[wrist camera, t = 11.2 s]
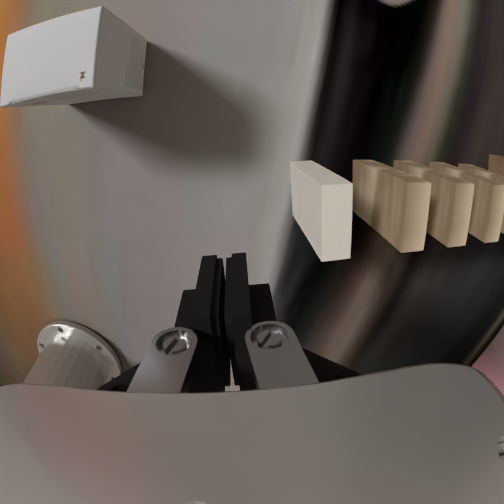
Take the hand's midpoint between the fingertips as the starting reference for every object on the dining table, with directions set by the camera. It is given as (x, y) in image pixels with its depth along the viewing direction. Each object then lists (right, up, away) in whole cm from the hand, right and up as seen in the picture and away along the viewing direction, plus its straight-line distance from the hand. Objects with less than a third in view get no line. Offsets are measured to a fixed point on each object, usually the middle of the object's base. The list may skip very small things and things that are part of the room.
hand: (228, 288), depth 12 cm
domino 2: (+11, +8, +16) cm, 21 cm away
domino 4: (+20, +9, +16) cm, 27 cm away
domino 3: (+16, +8, +16) cm, 24 cm away
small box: (-12, +18, +10) cm, 24 cm away
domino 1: (+5, +7, +16) cm, 18 cm away
